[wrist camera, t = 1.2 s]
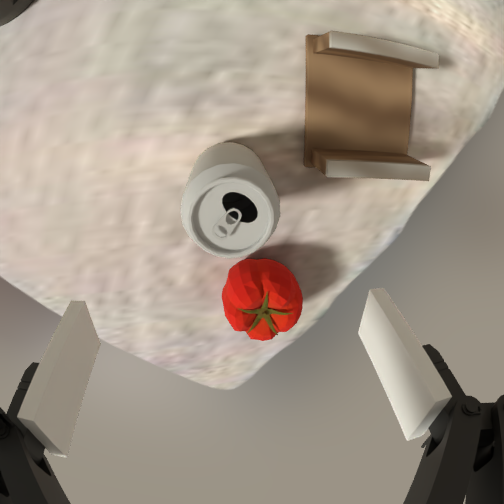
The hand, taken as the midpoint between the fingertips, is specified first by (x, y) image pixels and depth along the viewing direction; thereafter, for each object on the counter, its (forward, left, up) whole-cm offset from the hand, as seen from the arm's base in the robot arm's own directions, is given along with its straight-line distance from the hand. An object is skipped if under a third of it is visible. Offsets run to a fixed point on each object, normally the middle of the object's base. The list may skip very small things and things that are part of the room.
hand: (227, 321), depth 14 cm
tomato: (+12, +4, -22) cm, 25 cm away
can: (-1, +1, -22) cm, 22 cm away
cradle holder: (-9, +15, -22) cm, 27 cm away
